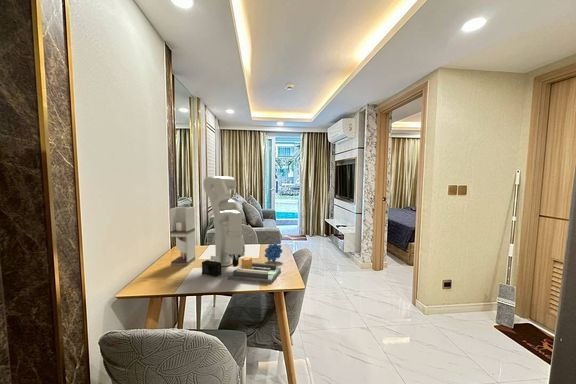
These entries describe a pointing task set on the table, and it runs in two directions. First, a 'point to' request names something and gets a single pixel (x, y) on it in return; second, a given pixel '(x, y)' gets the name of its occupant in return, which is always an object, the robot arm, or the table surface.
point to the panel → (271, 276)
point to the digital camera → (211, 268)
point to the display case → (183, 233)
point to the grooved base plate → (255, 271)
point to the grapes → (273, 252)
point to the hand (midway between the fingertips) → (235, 265)
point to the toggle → (247, 263)
